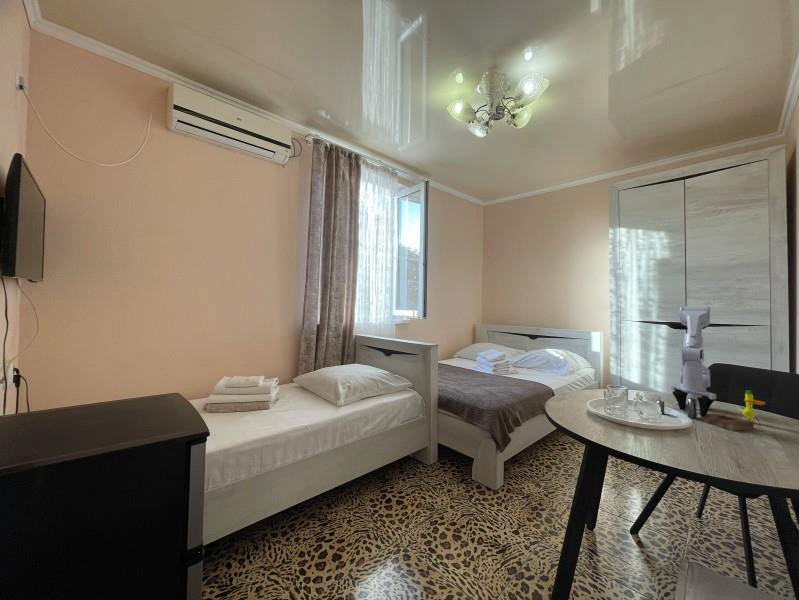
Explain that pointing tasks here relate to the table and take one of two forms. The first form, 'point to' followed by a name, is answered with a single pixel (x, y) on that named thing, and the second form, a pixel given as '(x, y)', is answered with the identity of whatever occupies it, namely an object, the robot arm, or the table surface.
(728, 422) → the hole block
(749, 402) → the toy figure
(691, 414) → the long pin
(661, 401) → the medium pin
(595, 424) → the table surface
